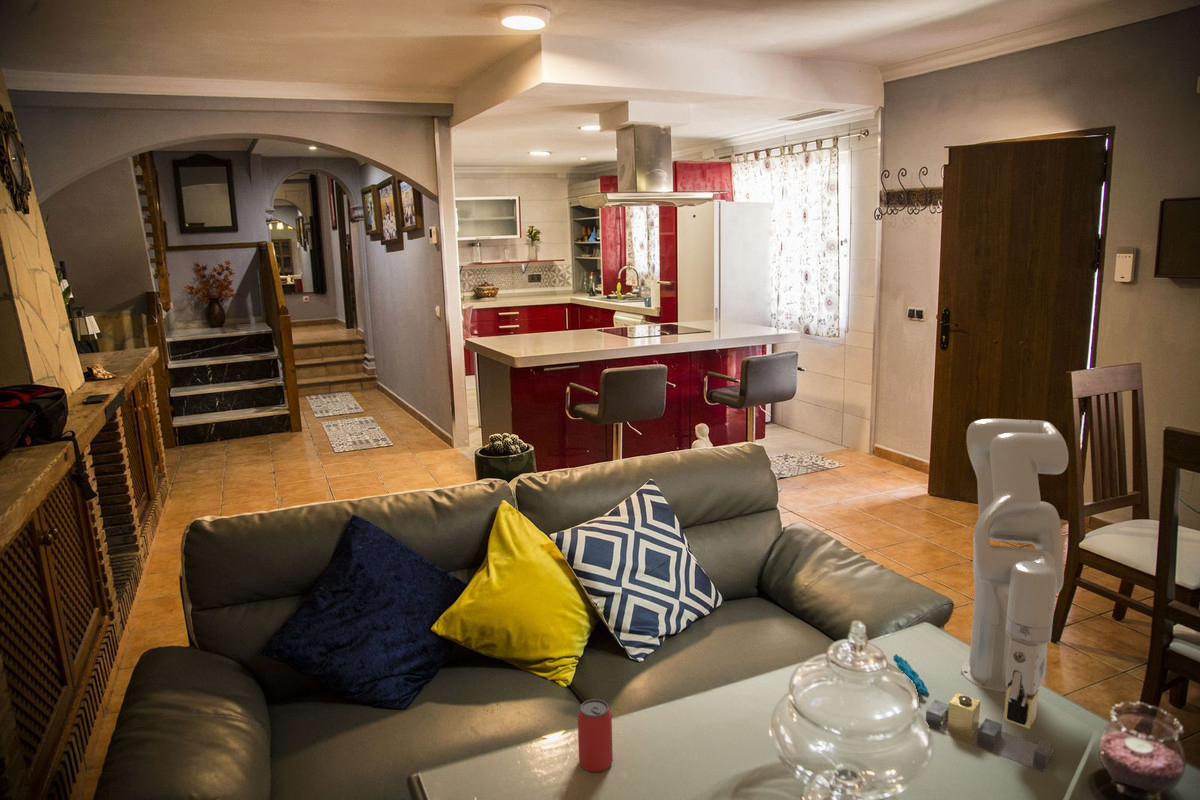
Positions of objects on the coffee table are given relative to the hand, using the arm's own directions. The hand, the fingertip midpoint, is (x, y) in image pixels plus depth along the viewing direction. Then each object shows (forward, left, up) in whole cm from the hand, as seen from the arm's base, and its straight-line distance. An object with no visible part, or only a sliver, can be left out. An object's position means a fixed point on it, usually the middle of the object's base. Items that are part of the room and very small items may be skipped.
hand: (1020, 714), depth 150 cm
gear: (-9, -24, -9) cm, 27 cm away
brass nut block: (0, 0, -1) cm, 1 cm away
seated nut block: (0, -10, -8) cm, 13 cm away
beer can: (+55, -61, -9) cm, 82 cm away
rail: (0, -6, -9) cm, 10 cm away
